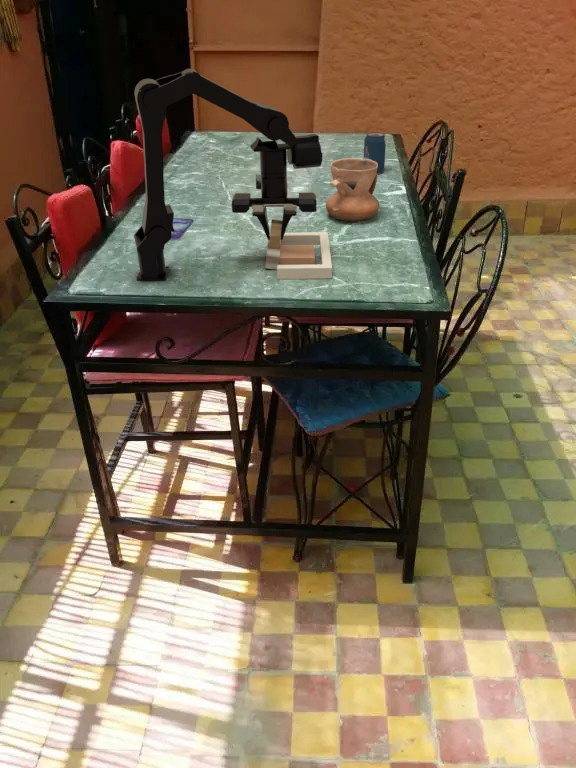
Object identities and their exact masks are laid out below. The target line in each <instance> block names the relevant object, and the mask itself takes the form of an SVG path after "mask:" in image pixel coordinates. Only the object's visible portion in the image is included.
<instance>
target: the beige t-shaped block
mask: <svg viewBox="0 0 576 768" xmlns="http://www.w3.org/2000/svg"><path fill="white" fill-rule="evenodd" d="M270 223H271V225H270V230H269V231H270V240H268V239H267V245H266V246H267V247H266V255H265V256H266V259H265V269H269V270H276V271H277V265H280V245H281V238H280V237H281V228H282V219H281V220H279V219H271V222H270Z"/></svg>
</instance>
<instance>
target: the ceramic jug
mask: <svg viewBox="0 0 576 768" xmlns="http://www.w3.org/2000/svg"><path fill="white" fill-rule="evenodd" d="M377 168H378V164H377V162H375V161H372V160H370V159H364V157H363V158H362V157H346V158H345V157H344V158H340V159H336V160H334V161H332V162H331V163H330V172H331V176H332V177H331V178H332V179H333V180H331V181H330V182H329V186H330V187H332V188H336V190H337V191H335V193H333V194H332V195H330V196H329V197H328V198H327V200H326V203H325V208H326V211H327V213H328V214H329V215H330V216H331V217H333V218H334V219H338V220H341V221H345V222H346V221H349V222H357V221H358V222H359V221H364V220H367V219H370V218H372V217H374V216H375V215H377V213H378V212H379V210H380V202H379V200H378V199H377V197H375V195H373V194H374V192H375V189H376V186H377V182H378V174H377Z"/></svg>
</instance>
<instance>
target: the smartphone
mask: <svg viewBox="0 0 576 768" xmlns="http://www.w3.org/2000/svg"><path fill="white" fill-rule="evenodd" d="M194 222H195V221H194V219H193V218H182V217H174V218H173V228H174V230H175V232H172V231H171V232H172V235H171V239H170V240H169V241H173V240H177V241H179V239H180V240H181V239H182V238H183V236H184V235H185V234H186V233H187V231H188V230H189V229H190V227H191V226H192V225H193V224H194ZM188 228H189V229H188ZM187 229H188V230H187ZM185 232H186V233H185ZM184 233H185V234H184Z"/></svg>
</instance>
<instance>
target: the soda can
mask: <svg viewBox="0 0 576 768" xmlns="http://www.w3.org/2000/svg"><path fill="white" fill-rule="evenodd" d="M363 141H364V143H363V144H364V145H363V159H370V160H372V161H375V162H377V164H378V168H377V175H380V174H383V171H385V170H384V169H385V161H386V148H387V138H386V135H385V133H384V132H381V131H380V132H379V131H371V132H368V133H366V136H365V138H364V140H363Z"/></svg>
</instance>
